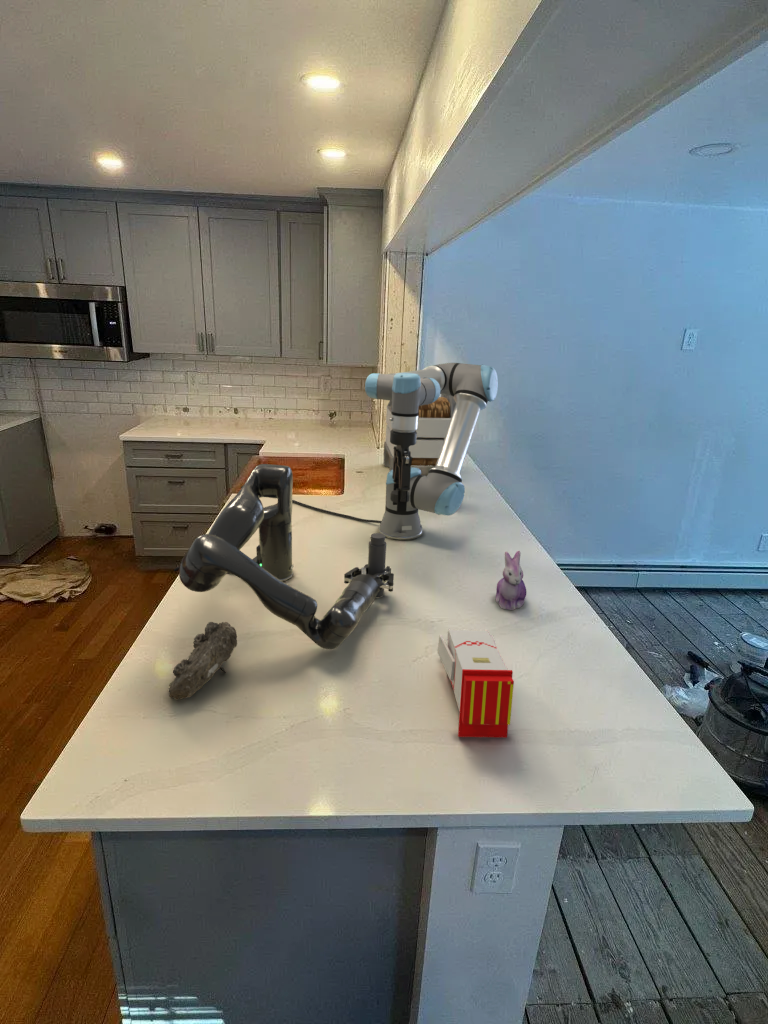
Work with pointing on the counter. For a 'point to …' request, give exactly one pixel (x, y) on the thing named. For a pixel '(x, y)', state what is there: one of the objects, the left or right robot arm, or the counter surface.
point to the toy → (478, 682)
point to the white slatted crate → (424, 432)
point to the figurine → (511, 584)
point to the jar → (377, 556)
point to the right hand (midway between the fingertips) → (399, 507)
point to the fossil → (203, 659)
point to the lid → (394, 496)
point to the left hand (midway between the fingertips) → (379, 567)
